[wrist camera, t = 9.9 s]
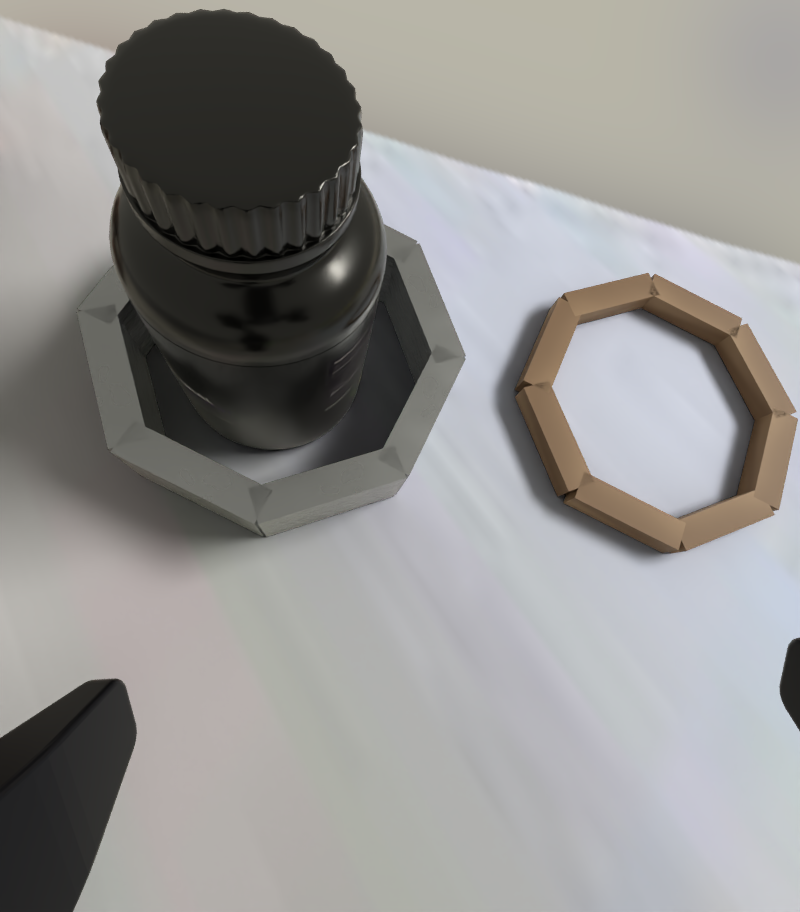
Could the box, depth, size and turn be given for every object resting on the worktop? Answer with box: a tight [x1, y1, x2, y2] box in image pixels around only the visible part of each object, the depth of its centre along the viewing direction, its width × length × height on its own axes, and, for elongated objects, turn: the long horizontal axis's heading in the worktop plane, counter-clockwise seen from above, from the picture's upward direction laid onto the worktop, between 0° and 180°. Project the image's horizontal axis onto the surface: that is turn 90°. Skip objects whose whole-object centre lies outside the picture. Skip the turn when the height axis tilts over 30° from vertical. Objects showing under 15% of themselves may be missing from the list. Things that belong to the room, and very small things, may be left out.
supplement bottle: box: [96, 9, 387, 450], centre depth 15 cm, size 7×7×12 cm
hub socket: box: [77, 225, 466, 537], centre depth 19 cm, size 12×12×3 cm
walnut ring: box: [515, 273, 798, 553], centre depth 23 cm, size 12×12×1 cm
